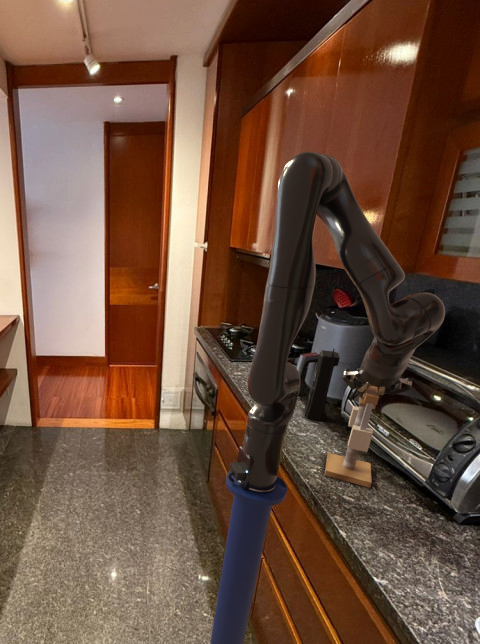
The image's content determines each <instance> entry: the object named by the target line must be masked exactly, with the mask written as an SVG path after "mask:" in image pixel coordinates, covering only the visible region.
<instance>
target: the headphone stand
mask: <svg viewBox="0 0 480 644" xmlns="http://www.w3.org/2000/svg"><path fill="white" fill-rule="evenodd" d="M366 405H367V403H365V402H364V396H363V397H359V396H358V407H359V410H358V413H357V417H356V420H355V424H354V425H355V426H360V425H361V422H362V418H363V415H364V412H365V408H366ZM376 406H377V405H376V404H374V405H373V408H372V410H376ZM359 454H360V451H359V450H355V449H351V448H348V447H347V449H346V452H345V456H343V455H339V454H335V453H331V452H327V456H326V461H325V467H324V468H325V471H324V476H326V477H329V478H332V479H335V480H340V481H343V482H348V483H351V484H355V485H358V486H362V487H364V488H365V487H366V488H368V489H370V488H371V486H372V481H373V480H372V465H371V462H367V461H363V460H360V459H358V458H359Z"/></svg>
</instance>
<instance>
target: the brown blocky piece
mask: <svg viewBox="0 0 480 644" xmlns="http://www.w3.org/2000/svg"><path fill="white" fill-rule="evenodd" d="M363 396H364V402H365V403H367V405H366V408H365V412H364V415H363V418H362V422H361V425H360V426H355V425H354V424H355V420H356V417H357V413H358V410H359V406H357V405H356V406H355V405H353V406H352V409H351V413H350V417H349V420H348V427H349V428H351V430H350V435H349V437H348V441H347V449H348V448H351V449H355V450H359V452H364V453H368V451H369V448H370V444H371V441H372V438H373V435H374V430H373V428H370V427H368V425H369V422H370V418H371V415H372V411H373V409H372V408H373V405H374V404H376V406H377V405H378V402H379V400H380V399H379V395H378V388H377V387H375V386H370V387H369V388H368V389H367V390H365V392H364V395H363Z"/></svg>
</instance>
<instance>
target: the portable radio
mask: <svg viewBox="0 0 480 644" xmlns="http://www.w3.org/2000/svg"><path fill="white" fill-rule="evenodd" d="M335 350H336V349H335V348H333V349H332V350H323V349H322V350H321V351H320V352H319V354H318V358H317V362H316V367H315V371H314V378H313V381H312V383H311V385H310V387H309V393H308V396H307V399H306V403H305V406H304V410H303V411H304V413H303V414H304V415H303V416H304V417H305V418H306V419H307V420H313V421H319V422H320V421H321V422H324V421H325V420H326V415H327V409H326V402H327V399H328V398H327V397H328V393H329V388H330V384H331V381H332V378H333V377H332V376H333V373H334V368H335V367H338V366H339V363H340V359H341V358H340V354H339V352H338V351H335Z"/></svg>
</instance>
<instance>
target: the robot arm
mask: <svg viewBox="0 0 480 644" xmlns="http://www.w3.org/2000/svg"><path fill="white" fill-rule="evenodd" d="M275 211H276V212H275V227H274V237H273V243H272V249H271V254H270V262H269V268H268V274H267V279H266V284H265V290H264V295H263V296H264V297H263V303H262V305H263V306H262V311H261V312H262V313H261V317H260V324H259V330H258V334H257V335H258V337H257V341H256V342H257V343H256V346H255V351H254V353H253V357H252V361H251V365H250V368H249V372H248V376H247V377H248V378H247V384H246V385H247V386H246V387H247V391H248V395H249V396H250V398H251V400H252V401H254V402H255V403H254V404H253V405H252V407H251V408H250V409H249V411H248V412H247V417H246V423H245V430H244V436H243V442H242V446H239V447H238V451H237V458H236V462H229V469H228V472H229V471H230V473H229V475H228V478H229V480H230V481H231V482H232V483H233V482H235V480H234V479H233V478H232V477H231V476H232V475H233V476H234V478H235V479H236V481H238V482H239V484H240V485H241V486H242V488H243V489H244V490H249V491H252V492H256V493H270V492H272V491H273V490H274V489H275V487H276V480H277V477H278V475H279V470H280V464H281V460H282V455H283V450H284V445H285V440H286V436H287V431H288V427H289V423H290V422H291V420H292V418H293V416H294V413H295V410H296V406H297V402H298V398H299V395H300V389H301V384H302V383H301V375H300V372H299V370H298V368H297V367H296V366H295V365H294V364H293V363H291V362H289V361H288V359H289V355H290V351H291V348H292V345H293V343H294V341H295V339H296V337H297V336H298V334H299V332H300V330H301V328H302V326H303V324H304V322H305V320H306V318H307V316H308V313H309V311H310V308H311V305H312V300H313V296H314V295H313V294H314V291H315V285H316V277H317V267H316V259H315V252H314V242H313V241H314V239H313V238H314V237H313V236H314V227H315V222H316V218H318V219H320V221H321V222H322V223H323V224H324V226H325V228H326V229H327V230H328V233H329V234H330V237H331V239H332V242H333V245H334V248H335V251H336V254H337V257H338V259H339V260H338V261H339V262H340V264H341V267H343V268H342V269H344V271H345V272H346V275H347V276H348V277H349V279H350V280H351V282H352V284H353V285H354V287H355V288H356V289H357V291H358V293H359V295H360V297H361V300H362V302H363V306H364V309H365V313H366V316H367V321H368V325H369V328H370V331H371V333H372V335H373V338H372V341H371V344H370V345H369V347H368V348H367V350H366V352H365V355H364V357H363V359H362V362H361V364H360V367H359V368H357V369H356V370H351V369H350V368H344V370H343V374H342V380H343V381H344V383H345V384H346V385H347V386H348V387H349V388H350V389H351V390H356V395H357V396H358V398H359V397H363V395H364V392H365V390H367V389H368V388H369V387H370V386H375V387H377V388H378V395H379V399H378V400H380V399H382V398H383V396H384V395H385V394H387V395H388V396H391V397H392V396H396V395H399V394H402V393H405V392H408V391H411V390H412V385H413V378H411V377H406V378H402V375H403V374H404V372H405V371H406V370H407V368H408V365H409V363H410V360H411V357H412V356H413V354H414V353H415V351H416V349H417V348H418V347H419V346H420V345H422V344H423V343H424V342H425V341H427V340H428V339H429V338H430V337H431V336H432V335H434V334H435V332H436V331H437V330H438V329H439V328H440V327H441V326H442V325H443V322H444V320H445V317H446V307H445V304H444V302H443V301H442V299H441V298H439V297H438V296H437V295H435V294H433V293H431V292H427V291H419V292H414V293H412V294H409V295H407V296H405V297H403V298H401V299H399V300H397V301H394V302H393V303H390V299H389V298H390V297H389V296H390V292H391V291H393V290H394V289H395V288H397V287H398V286H399V285H401V284H402V283H403V281H405V278H406V273H405V271H404V270H403V268H402V267H401V265H400V264H399V262H398V261H397V260H396V259H395V257H394V255H393V254H392V252H391V251H390V249H389V248H388V246H387V245H386V244H385V243H384V242H383V240H382V238H381V237H380V235H379V234H378V233H377V231H376V230H375V229H374V227H373V226H372V225H371V223H370V221H369V220H368V218H367V216H366V215H365V213H364V212H363V209H362V207H361V206H360V204H359V203H358V200H357V198H356V196H355V194H354V192H353V190H352V187H351V184H350V182H349V180H348V177H347V175H346V173H345V171H344V168H343V166H342V164H341V162H340V161H339V160H338V159H337V158H336V157H334V156H332V155H330V154H325V153H321V152H317V151H303V152H300V153H297V154H295V155H294V156H293V157H292V158H290V160H289V161H288V162H287V163H286V164H285V166H284V168H283V169H282V171H281V173H280V176H279V180H278V185H277V194H276V210H275Z"/></svg>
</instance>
